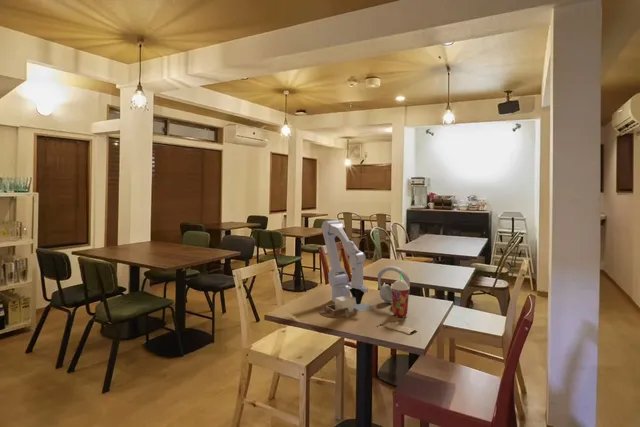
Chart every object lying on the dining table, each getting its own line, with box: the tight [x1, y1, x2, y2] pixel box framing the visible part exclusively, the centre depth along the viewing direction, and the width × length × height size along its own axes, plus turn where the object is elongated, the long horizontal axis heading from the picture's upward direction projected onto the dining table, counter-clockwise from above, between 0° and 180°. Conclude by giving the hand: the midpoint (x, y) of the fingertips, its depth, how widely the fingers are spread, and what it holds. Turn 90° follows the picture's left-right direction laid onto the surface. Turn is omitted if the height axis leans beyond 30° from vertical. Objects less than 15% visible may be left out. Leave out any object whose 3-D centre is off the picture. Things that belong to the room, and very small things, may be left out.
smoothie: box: [391, 274, 410, 318], centre depth 184 cm, size 8×8×20 cm
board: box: [353, 302, 376, 313], centre depth 189 cm, size 30×20×1 cm, turn 121°
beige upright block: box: [334, 296, 356, 312], centre depth 190 cm, size 12×6×6 cm, turn 121°
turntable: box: [318, 303, 357, 320], centre depth 186 cm, size 18×18×4 cm
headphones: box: [377, 265, 411, 304], centre depth 202 cm, size 18×8×20 cm, turn 50°
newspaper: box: [379, 321, 417, 335], centre depth 172 cm, size 24×7×2 cm, turn 43°
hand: (357, 303), depth 192 cm, fingers closed on beige upright block
